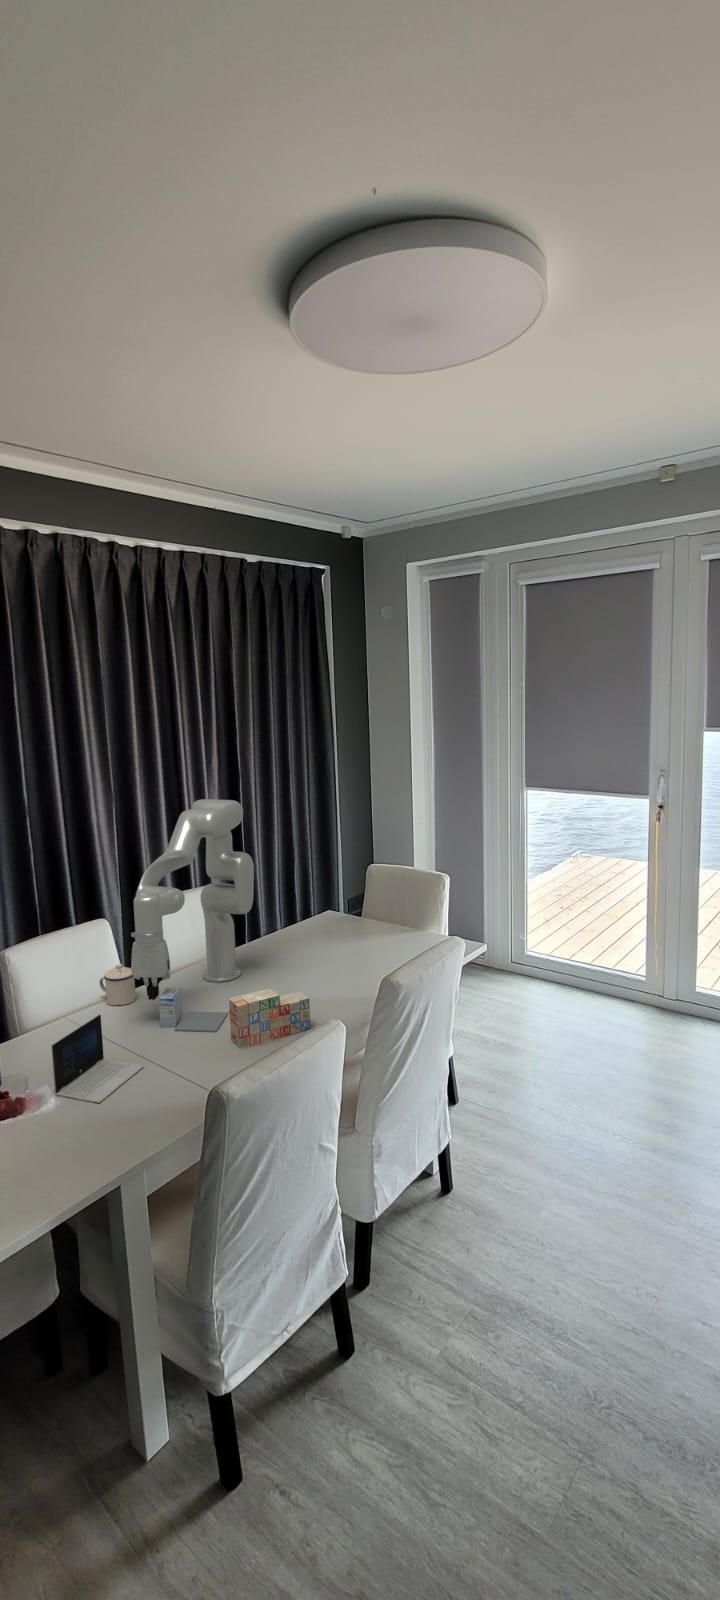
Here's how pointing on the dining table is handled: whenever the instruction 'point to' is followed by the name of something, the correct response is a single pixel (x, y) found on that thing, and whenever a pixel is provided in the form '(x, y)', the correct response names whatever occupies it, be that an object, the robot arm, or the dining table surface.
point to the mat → (202, 1021)
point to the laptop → (87, 1065)
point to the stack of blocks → (267, 1016)
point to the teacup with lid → (119, 985)
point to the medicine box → (170, 1007)
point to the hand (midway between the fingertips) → (153, 997)
